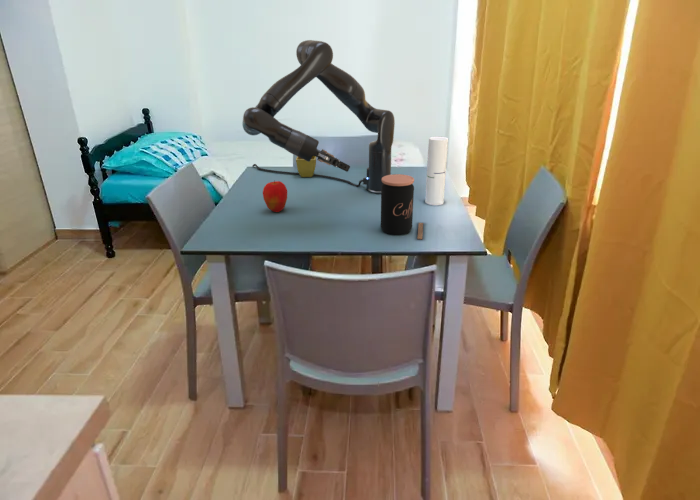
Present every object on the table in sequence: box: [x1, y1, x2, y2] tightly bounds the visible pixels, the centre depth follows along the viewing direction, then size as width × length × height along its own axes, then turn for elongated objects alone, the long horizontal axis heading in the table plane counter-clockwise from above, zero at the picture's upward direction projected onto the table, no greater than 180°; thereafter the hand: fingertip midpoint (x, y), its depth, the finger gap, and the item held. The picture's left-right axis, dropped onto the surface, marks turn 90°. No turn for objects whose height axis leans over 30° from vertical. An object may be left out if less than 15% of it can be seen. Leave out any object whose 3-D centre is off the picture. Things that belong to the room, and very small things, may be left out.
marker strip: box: [416, 222, 424, 241], centre depth 165 cm, size 2×14×1 cm, turn 171°
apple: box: [262, 180, 288, 213], centre depth 183 cm, size 9×9×12 cm
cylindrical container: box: [424, 135, 449, 206], centre depth 187 cm, size 7×7×25 cm
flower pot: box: [295, 156, 317, 178], centre depth 226 cm, size 9×9×9 cm
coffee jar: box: [380, 173, 415, 236], centre depth 163 cm, size 11×11×18 cm
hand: (348, 168), depth 161 cm, fingers closed
